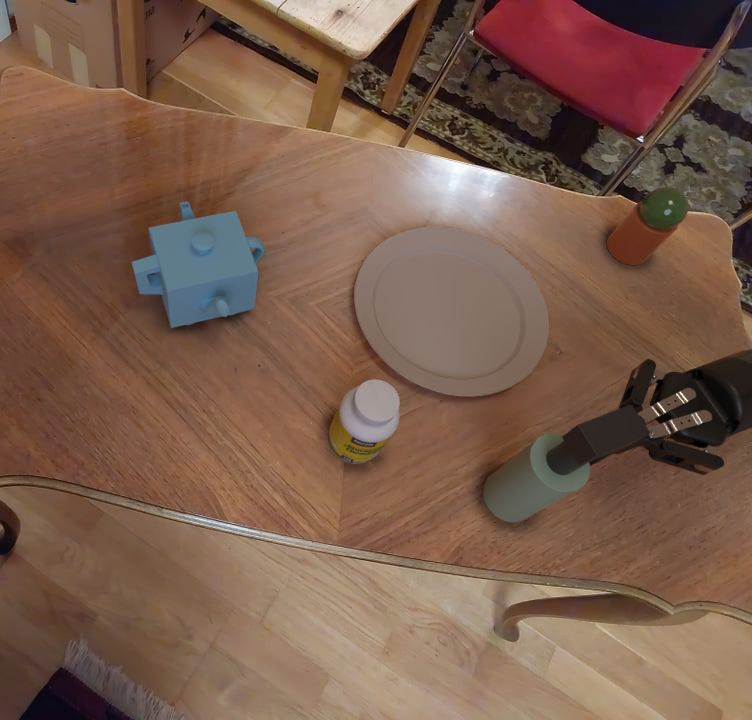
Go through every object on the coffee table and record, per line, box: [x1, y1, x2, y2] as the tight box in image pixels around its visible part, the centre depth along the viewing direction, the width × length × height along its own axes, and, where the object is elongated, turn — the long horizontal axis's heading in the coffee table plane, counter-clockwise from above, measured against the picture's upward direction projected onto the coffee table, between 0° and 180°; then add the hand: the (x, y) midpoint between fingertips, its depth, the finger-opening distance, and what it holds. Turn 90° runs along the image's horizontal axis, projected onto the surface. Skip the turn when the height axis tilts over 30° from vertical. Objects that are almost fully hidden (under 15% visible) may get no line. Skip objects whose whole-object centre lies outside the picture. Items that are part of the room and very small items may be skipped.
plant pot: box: [606, 186, 690, 266], centre depth 89 cm, size 6×6×11 cm
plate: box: [353, 226, 550, 397], centre depth 85 cm, size 26×26×2 cm
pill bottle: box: [327, 378, 401, 465], centre depth 72 cm, size 6×6×12 cm
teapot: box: [131, 200, 266, 329], centre depth 79 cm, size 16×18×11 cm
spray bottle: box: [482, 405, 650, 523], centre depth 67 cm, size 8×6×20 cm
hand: (605, 442), depth 64 cm, fingers closed
